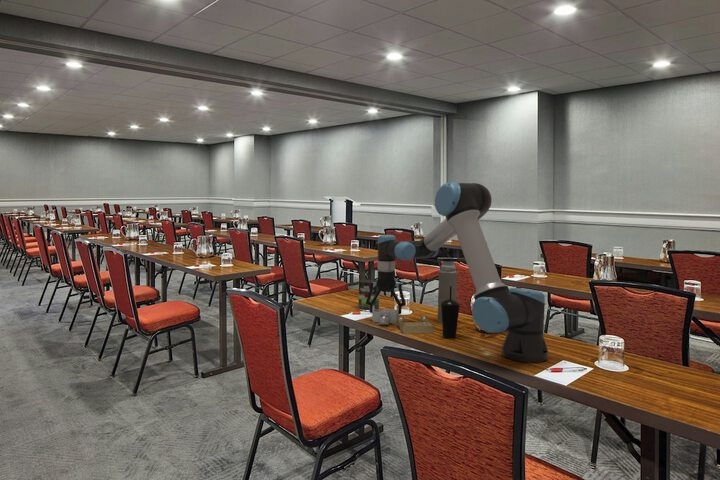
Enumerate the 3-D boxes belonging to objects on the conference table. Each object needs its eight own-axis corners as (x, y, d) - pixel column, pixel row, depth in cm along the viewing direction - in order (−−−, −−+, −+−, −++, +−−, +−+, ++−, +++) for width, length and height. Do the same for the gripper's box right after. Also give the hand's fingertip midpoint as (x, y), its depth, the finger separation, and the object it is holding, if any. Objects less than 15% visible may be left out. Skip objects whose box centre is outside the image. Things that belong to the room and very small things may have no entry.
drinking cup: (459, 340, 188) (460, 288, 186) (439, 339, 189) (440, 287, 188) (459, 335, 195) (460, 285, 194) (440, 333, 197) (441, 284, 195)
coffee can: (376, 312, 233) (376, 283, 232) (355, 310, 236) (355, 281, 235) (381, 308, 243) (382, 279, 242) (361, 306, 246) (362, 278, 245)
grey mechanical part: (375, 319, 219) (375, 308, 219) (397, 320, 218) (397, 309, 217) (371, 326, 208) (371, 314, 207) (395, 327, 206) (395, 315, 206)
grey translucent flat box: (433, 333, 198) (433, 322, 197) (403, 333, 196) (403, 322, 196) (425, 325, 210) (425, 314, 210) (396, 325, 209) (397, 315, 209)
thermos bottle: (437, 319, 221) (438, 257, 219) (455, 319, 220) (456, 257, 218) (438, 323, 213) (439, 259, 211) (456, 324, 212) (458, 259, 210)
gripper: (412, 270, 216) (411, 319, 218) (361, 268, 219) (361, 317, 221) (411, 272, 208) (410, 324, 210) (359, 270, 212) (358, 321, 214)
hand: (385, 320), depth 216 cm, fingers closed on grey mechanical part, 10 cm apart
